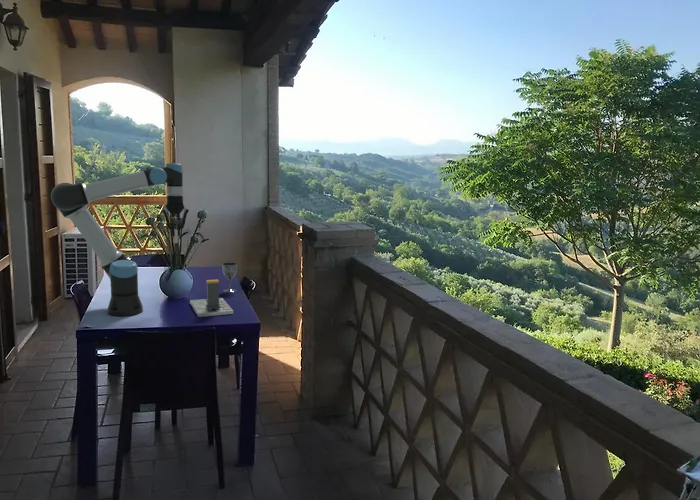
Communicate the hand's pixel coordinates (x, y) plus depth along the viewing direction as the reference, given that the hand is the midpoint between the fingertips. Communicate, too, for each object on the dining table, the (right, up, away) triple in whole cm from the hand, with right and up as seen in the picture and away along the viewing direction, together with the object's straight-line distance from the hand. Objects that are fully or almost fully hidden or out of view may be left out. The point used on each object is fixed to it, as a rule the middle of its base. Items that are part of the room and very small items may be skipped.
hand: (176, 242), depth 283 cm
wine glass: (+21, -26, +28) cm, 43 cm away
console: (+20, -32, -9) cm, 38 cm away
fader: (+22, -30, -15) cm, 40 cm away
